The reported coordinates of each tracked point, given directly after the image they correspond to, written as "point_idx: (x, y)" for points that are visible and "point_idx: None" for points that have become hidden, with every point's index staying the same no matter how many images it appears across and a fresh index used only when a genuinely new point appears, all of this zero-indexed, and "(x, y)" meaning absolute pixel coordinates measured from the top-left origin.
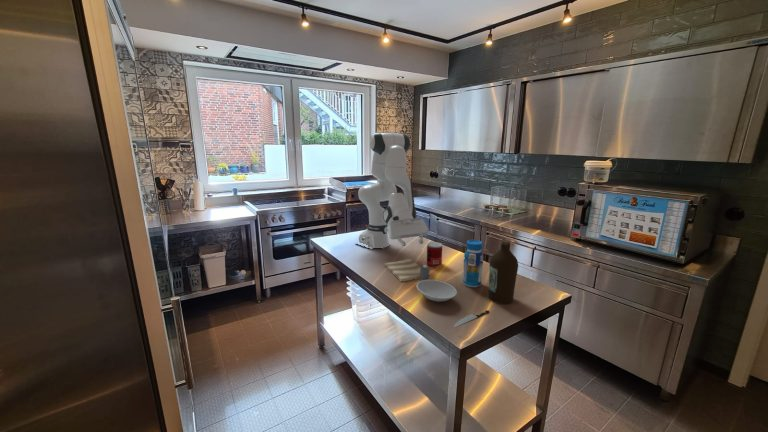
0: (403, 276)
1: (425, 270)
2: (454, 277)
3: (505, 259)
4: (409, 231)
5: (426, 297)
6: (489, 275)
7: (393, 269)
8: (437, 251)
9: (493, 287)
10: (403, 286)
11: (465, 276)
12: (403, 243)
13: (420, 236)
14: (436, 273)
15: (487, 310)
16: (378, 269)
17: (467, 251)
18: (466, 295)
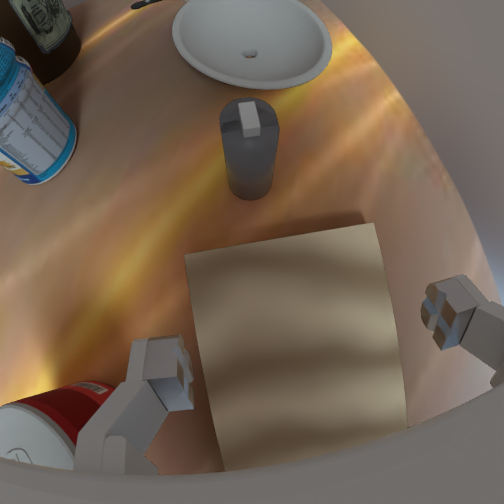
0: (354, 249)
1: (255, 101)
2: (70, 220)
3: None
4: (425, 490)
5: (296, 32)
6: (44, 8)
7: (389, 361)
8: (41, 397)
9: (65, 13)
10: (361, 177)
11: (58, 116)
12: (464, 283)
13: (136, 449)
14: (130, 290)
15: (135, 3)
16: (442, 404)
17: None
18: (124, 71)
